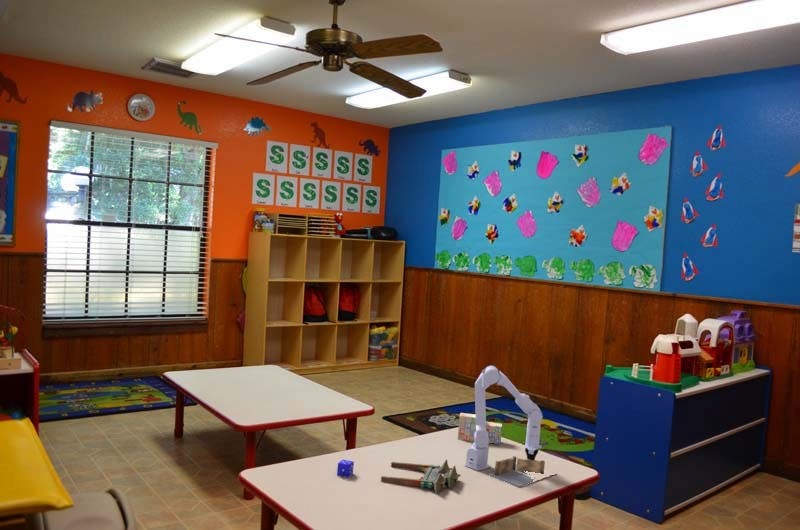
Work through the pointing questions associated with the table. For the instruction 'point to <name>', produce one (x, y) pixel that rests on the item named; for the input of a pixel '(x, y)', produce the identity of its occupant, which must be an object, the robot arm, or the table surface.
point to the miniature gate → (426, 476)
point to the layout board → (514, 477)
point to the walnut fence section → (505, 466)
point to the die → (345, 468)
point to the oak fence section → (530, 465)
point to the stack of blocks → (469, 427)
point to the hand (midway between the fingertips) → (530, 465)
